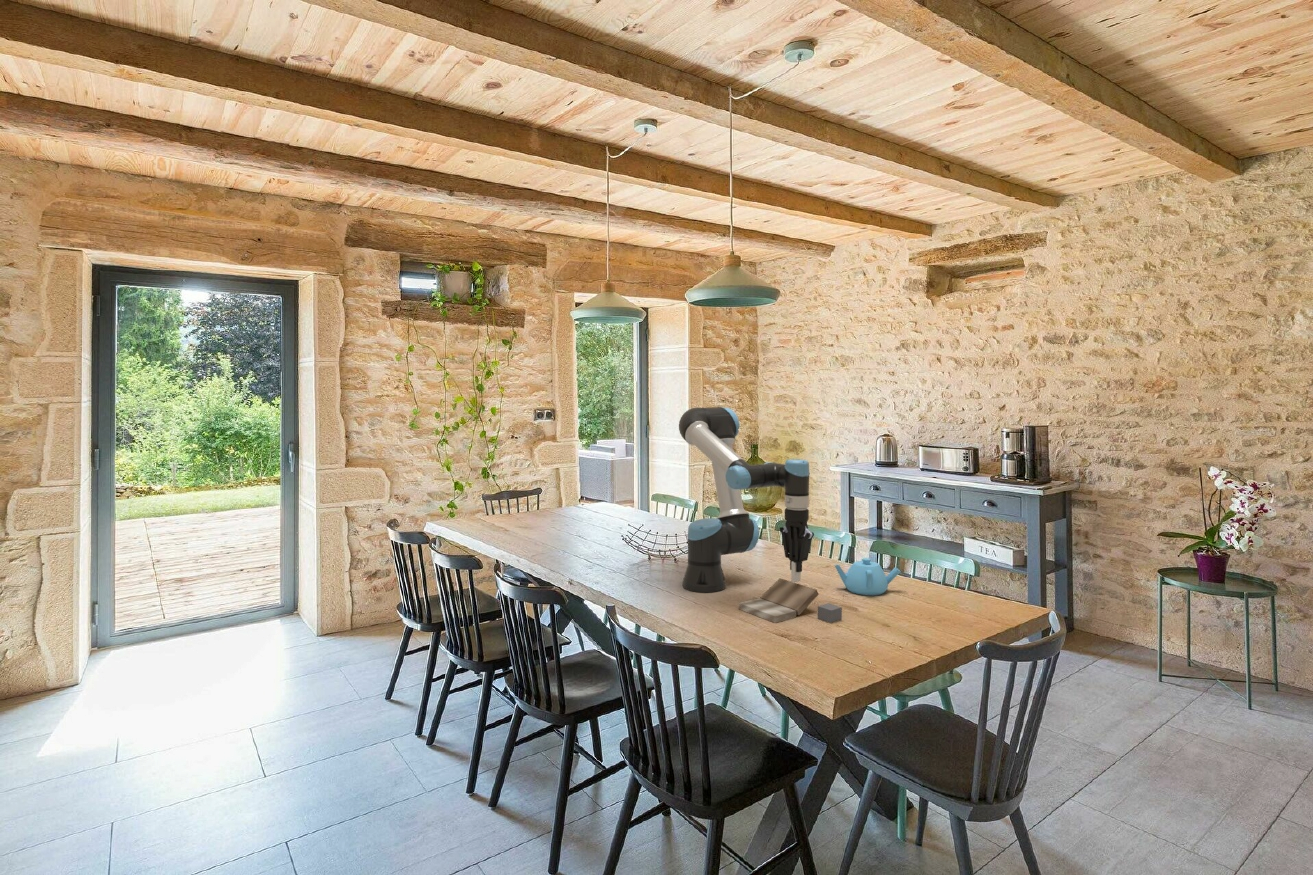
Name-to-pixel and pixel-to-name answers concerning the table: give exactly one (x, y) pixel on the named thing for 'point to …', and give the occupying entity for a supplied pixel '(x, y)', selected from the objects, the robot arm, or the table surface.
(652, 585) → the table surface
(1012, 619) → the table surface
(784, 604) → the board
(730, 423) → the robot arm
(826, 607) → the block
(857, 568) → the teapot
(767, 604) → the laid floor rows
